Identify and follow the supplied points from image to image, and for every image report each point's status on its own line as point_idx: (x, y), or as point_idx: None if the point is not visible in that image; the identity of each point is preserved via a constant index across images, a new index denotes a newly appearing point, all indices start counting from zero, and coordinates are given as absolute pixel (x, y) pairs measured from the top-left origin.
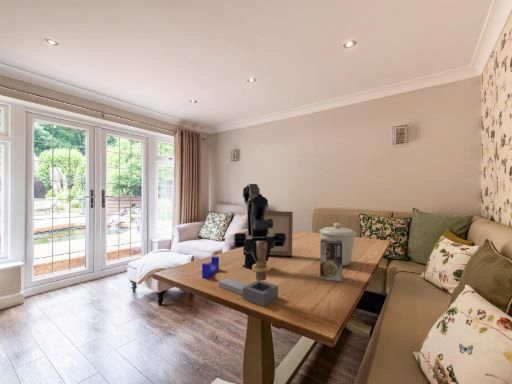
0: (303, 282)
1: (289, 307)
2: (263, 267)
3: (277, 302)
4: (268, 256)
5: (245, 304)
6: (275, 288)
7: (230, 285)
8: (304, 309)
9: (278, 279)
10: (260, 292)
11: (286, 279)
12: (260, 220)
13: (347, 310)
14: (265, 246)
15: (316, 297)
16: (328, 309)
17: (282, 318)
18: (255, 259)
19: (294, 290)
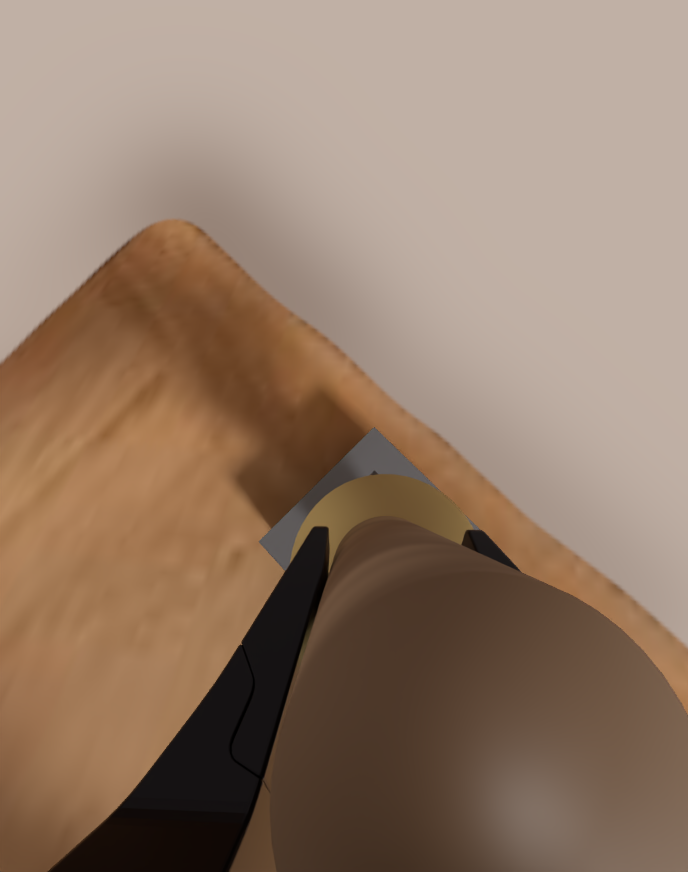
0: (45, 736)
1: (248, 418)
2: (370, 518)
3: (292, 474)
4: (299, 556)
5: (457, 471)
6: (283, 517)
7: None
8: (186, 394)
9: None
10: (389, 454)
11: None
12: None
13: (3, 366)
14: (347, 583)
15: (72, 506)
16: (80, 382)
17: (306, 334)
18: (487, 535)
19: (154, 611)
